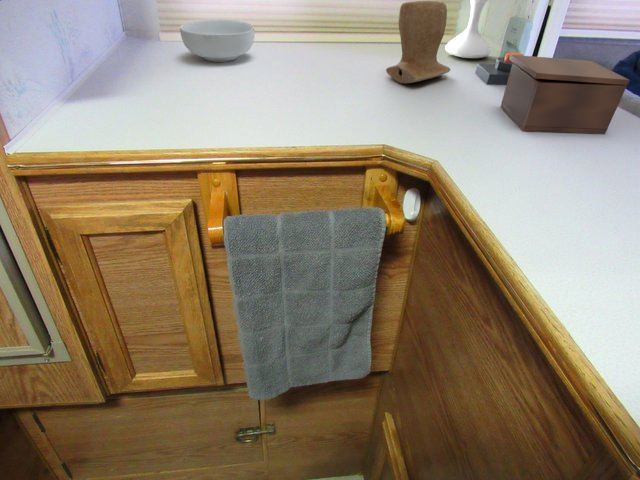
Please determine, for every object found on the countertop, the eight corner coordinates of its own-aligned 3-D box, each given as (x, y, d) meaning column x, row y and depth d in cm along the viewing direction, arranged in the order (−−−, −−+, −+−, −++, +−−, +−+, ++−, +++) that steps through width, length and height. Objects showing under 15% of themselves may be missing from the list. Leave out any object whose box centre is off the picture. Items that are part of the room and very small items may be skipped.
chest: (523, 131, 69) (539, 82, 65) (500, 107, 79) (512, 63, 74) (605, 134, 70) (627, 85, 65) (572, 109, 79) (589, 65, 74)
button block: (526, 75, 98) (532, 56, 95) (542, 86, 90) (549, 67, 88) (475, 73, 97) (479, 54, 95) (486, 84, 90) (491, 65, 88)
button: (517, 60, 93) (520, 52, 92) (523, 65, 90) (526, 56, 89) (501, 60, 93) (503, 51, 92) (507, 64, 90) (509, 55, 89)
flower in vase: (497, 61, 107) (529, -60, 92) (456, 62, 105) (482, -61, 90) (471, 49, 117) (496, -61, 103) (433, 50, 115) (453, -63, 100)
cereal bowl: (169, 61, 98) (163, 27, 94) (210, 47, 111) (207, 17, 107) (232, 70, 93) (228, 36, 89) (268, 55, 106) (266, 23, 102)
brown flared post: (412, 66, 101) (423, -6, 92) (455, 77, 94) (472, 0, 85) (370, 77, 93) (378, -2, 84) (414, 90, 86) (428, 6, 77)
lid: (535, 78, 64) (537, 73, 64) (508, 59, 74) (510, 54, 73) (627, 85, 65) (629, 79, 64) (589, 65, 74) (591, 60, 74)
